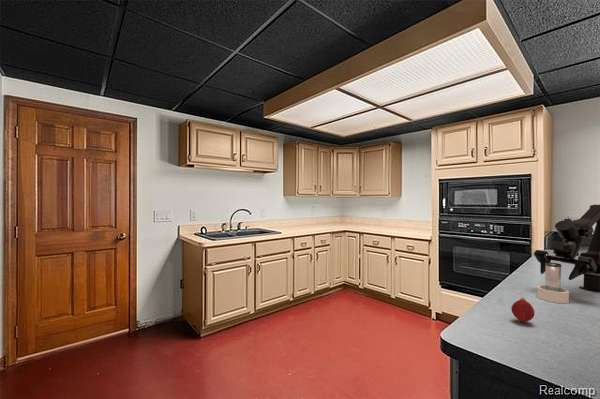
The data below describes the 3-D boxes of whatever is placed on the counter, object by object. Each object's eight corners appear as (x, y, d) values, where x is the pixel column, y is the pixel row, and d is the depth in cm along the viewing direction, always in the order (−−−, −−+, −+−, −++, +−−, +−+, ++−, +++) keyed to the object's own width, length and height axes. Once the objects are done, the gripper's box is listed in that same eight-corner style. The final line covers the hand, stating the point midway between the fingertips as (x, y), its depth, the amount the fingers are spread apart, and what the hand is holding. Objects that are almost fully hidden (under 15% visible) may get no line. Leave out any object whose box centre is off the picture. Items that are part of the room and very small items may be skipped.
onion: (539, 326, 90) (539, 300, 89) (520, 326, 90) (520, 300, 90) (524, 318, 95) (525, 294, 95) (507, 318, 95) (507, 294, 95)
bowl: (547, 294, 121) (547, 284, 121) (574, 301, 112) (574, 291, 112) (531, 296, 118) (531, 286, 118) (558, 304, 109) (558, 293, 109)
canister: (546, 293, 118) (547, 261, 118) (562, 296, 115) (562, 264, 114) (543, 295, 115) (543, 263, 115) (559, 299, 112) (559, 265, 111)
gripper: (536, 231, 126) (520, 258, 122) (593, 236, 109) (577, 268, 105) (546, 248, 129) (531, 275, 125) (603, 256, 112) (588, 288, 108)
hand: (554, 276), depth 115 cm, fingers open, 9 cm apart
